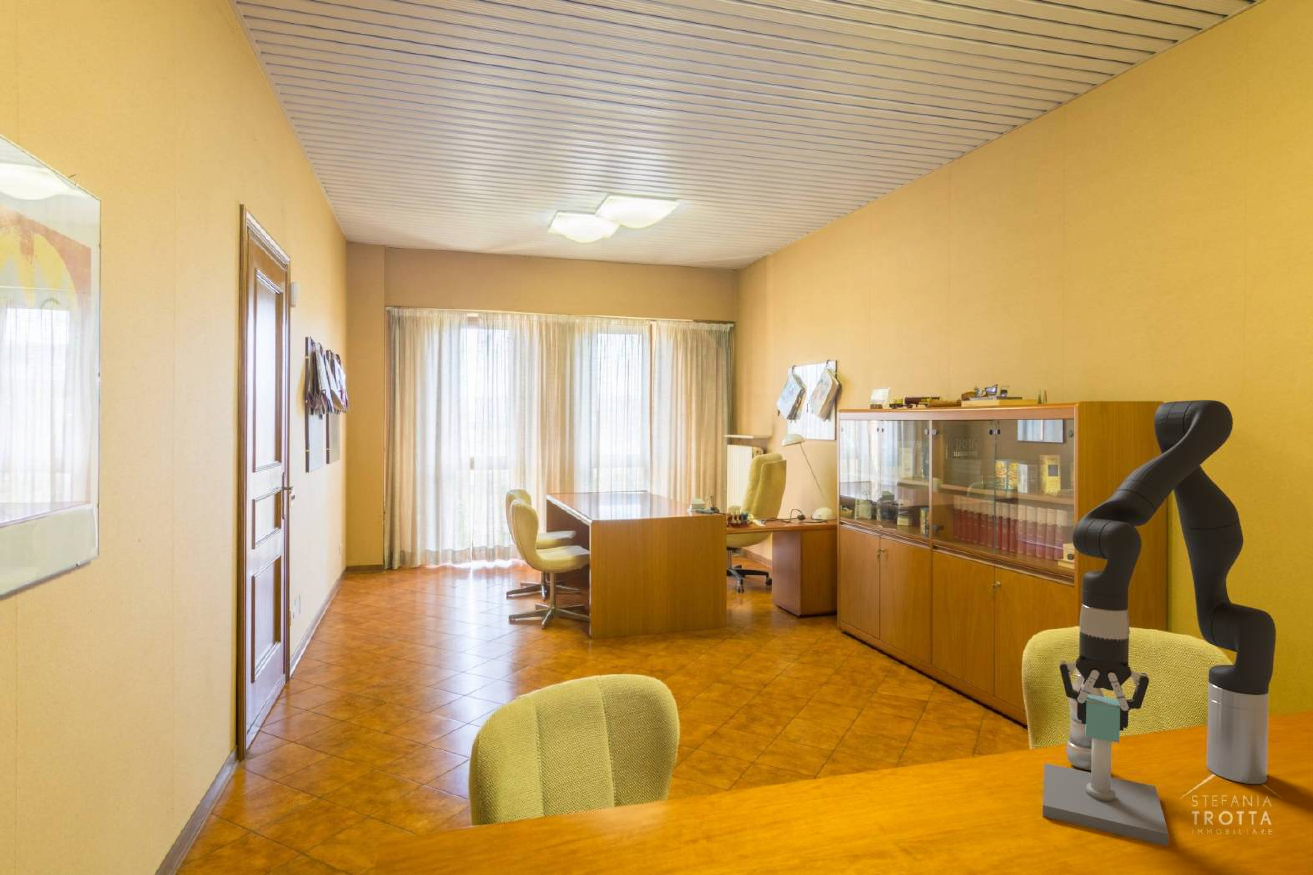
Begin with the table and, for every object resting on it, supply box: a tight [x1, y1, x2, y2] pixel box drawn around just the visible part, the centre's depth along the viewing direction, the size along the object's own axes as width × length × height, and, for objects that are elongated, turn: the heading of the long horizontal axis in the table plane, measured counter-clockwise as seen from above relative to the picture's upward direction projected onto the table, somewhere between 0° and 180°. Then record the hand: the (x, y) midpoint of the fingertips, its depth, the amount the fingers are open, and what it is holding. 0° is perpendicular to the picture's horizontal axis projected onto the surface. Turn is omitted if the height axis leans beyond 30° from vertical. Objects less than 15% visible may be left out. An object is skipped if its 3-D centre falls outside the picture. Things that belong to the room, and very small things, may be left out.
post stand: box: [1042, 738, 1170, 847], centre depth 129 cm, size 18×18×18 cm
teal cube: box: [1085, 694, 1121, 744], centre depth 129 cm, size 5×5×6 cm
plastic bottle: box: [1065, 669, 1106, 771], centre depth 144 cm, size 6×7×20 cm
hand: (1101, 725), depth 129 cm, fingers closed on teal cube, 5 cm apart
